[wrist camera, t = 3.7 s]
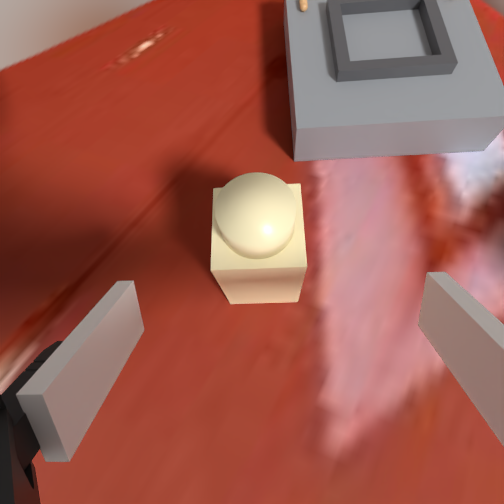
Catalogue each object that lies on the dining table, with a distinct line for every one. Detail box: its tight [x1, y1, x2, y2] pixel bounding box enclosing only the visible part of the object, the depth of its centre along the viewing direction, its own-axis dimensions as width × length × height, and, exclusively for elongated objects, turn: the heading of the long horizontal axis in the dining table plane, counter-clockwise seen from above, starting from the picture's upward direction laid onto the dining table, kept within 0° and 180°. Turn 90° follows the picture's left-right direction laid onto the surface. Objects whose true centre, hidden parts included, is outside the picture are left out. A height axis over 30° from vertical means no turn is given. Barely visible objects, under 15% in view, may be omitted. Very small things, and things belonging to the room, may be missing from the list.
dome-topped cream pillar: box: [211, 173, 307, 304], centre depth 21 cm, size 5×5×10 cm
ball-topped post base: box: [284, 0, 504, 161], centre depth 29 cm, size 16×18×5 cm
